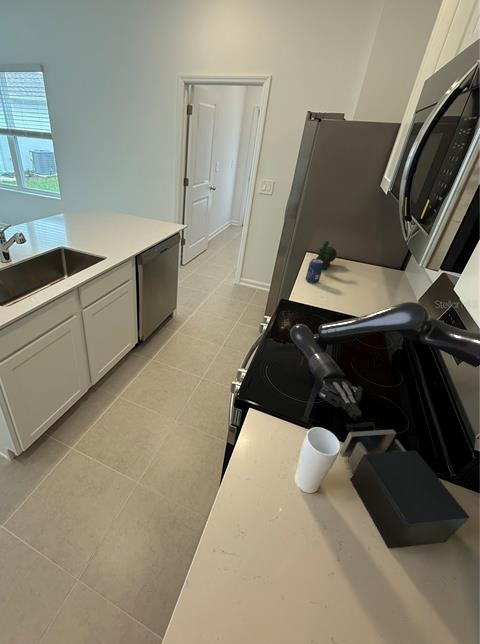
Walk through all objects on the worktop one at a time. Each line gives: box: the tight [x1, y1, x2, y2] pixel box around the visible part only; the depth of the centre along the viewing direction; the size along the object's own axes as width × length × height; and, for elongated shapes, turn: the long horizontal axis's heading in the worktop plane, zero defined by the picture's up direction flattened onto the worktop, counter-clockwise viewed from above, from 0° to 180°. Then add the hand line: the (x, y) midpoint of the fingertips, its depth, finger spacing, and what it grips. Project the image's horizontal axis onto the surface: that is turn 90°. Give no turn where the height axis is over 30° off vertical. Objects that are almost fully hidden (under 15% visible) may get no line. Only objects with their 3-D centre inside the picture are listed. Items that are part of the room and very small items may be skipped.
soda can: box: [305, 258, 323, 285], centre depth 163 cm, size 7×7×12 cm
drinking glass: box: [294, 426, 341, 494], centre depth 67 cm, size 7×7×15 cm
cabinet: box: [349, 449, 470, 550], centre depth 64 cm, size 14×13×10 cm
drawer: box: [339, 421, 407, 472], centre depth 71 cm, size 16×11×8 cm
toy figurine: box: [315, 240, 338, 271], centre depth 181 cm, size 9×19×25 cm
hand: (358, 417), depth 78 cm, fingers closed
